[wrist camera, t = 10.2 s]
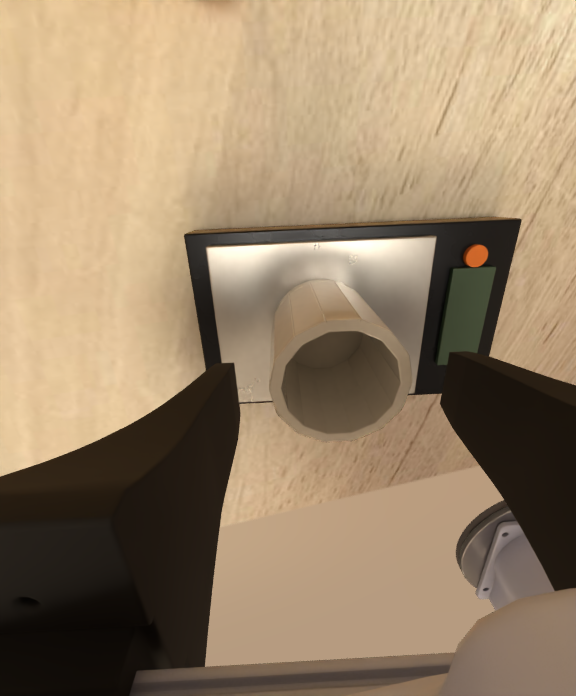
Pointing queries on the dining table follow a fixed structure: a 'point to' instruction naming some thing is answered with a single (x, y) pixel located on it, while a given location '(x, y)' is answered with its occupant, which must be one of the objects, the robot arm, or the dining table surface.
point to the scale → (354, 287)
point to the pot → (335, 364)
